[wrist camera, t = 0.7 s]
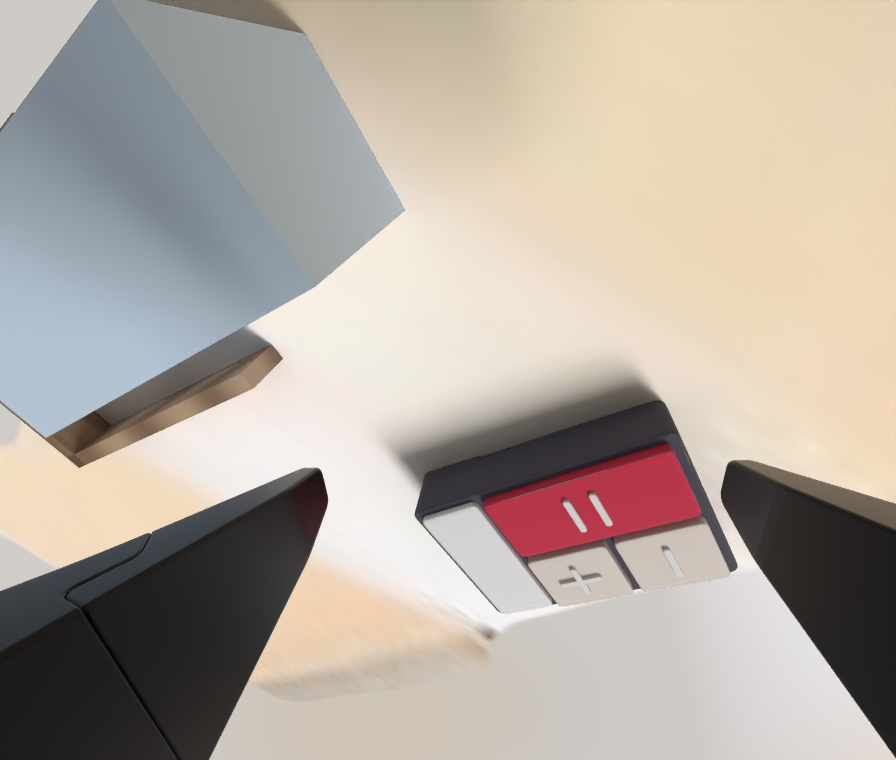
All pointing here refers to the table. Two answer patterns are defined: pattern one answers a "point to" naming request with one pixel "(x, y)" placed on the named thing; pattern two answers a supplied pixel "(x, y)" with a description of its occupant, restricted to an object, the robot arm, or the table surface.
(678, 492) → the calculator
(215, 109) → the slate box
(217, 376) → the frame
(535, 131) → the table surface
